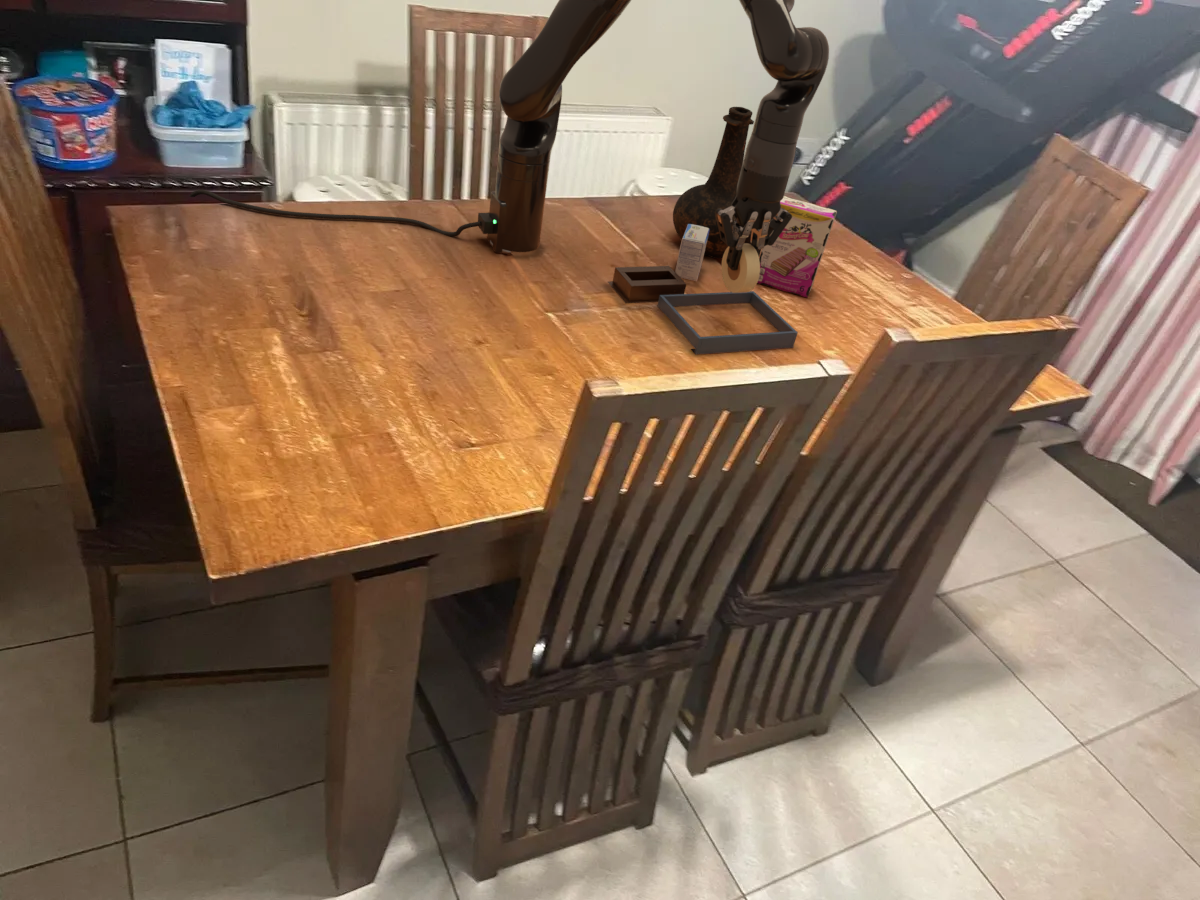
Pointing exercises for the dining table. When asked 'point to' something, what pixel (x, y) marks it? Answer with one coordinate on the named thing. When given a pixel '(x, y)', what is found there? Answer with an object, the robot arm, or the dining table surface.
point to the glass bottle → (716, 185)
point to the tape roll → (742, 271)
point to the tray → (728, 341)
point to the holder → (646, 283)
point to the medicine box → (692, 252)
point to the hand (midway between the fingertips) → (740, 267)
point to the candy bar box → (797, 248)
